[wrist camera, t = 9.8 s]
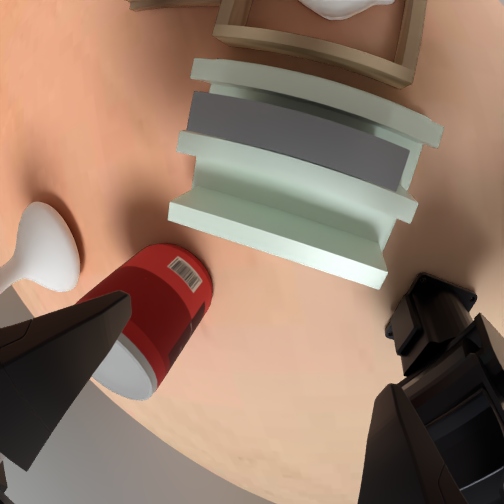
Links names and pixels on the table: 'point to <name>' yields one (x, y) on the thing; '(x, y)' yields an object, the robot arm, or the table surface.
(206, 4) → the plate stand
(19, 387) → the robot arm
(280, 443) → the table surface
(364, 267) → the dish rack
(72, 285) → the flower in vase
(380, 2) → the garlic
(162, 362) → the canned food
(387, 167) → the plate
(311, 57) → the garlic trivet frame
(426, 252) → the table surface
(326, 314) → the table surface
